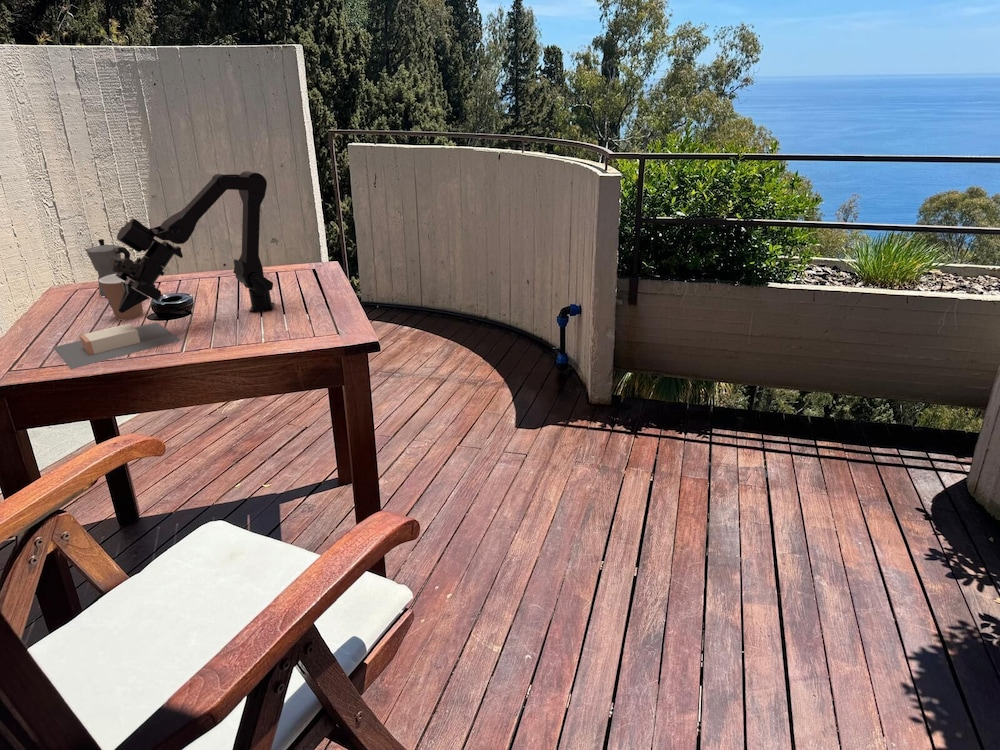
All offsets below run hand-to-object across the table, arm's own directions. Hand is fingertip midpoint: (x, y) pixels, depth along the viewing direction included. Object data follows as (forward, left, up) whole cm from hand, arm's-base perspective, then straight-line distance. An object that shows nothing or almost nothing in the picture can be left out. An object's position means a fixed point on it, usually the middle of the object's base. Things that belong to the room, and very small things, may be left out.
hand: (120, 311), depth 174 cm
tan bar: (-1, +2, -6) cm, 7 cm away
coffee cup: (-23, -6, -9) cm, 25 cm away
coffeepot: (-49, -16, -9) cm, 52 cm away
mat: (+1, -2, -9) cm, 9 cm away
